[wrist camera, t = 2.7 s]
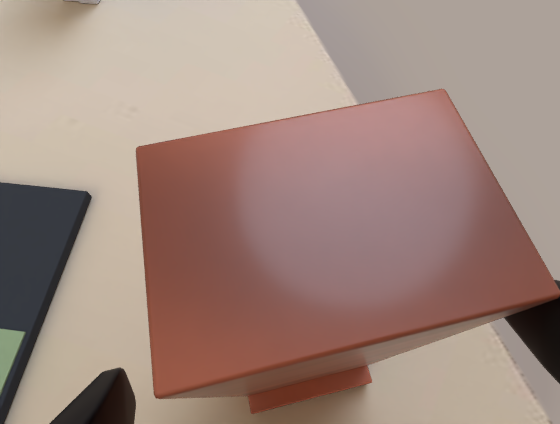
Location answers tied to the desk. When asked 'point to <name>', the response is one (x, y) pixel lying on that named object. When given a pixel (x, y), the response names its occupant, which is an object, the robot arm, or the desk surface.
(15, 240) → the dark blue mat
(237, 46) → the desk surface
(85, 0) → the walkman
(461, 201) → the reddish brown square pillar
